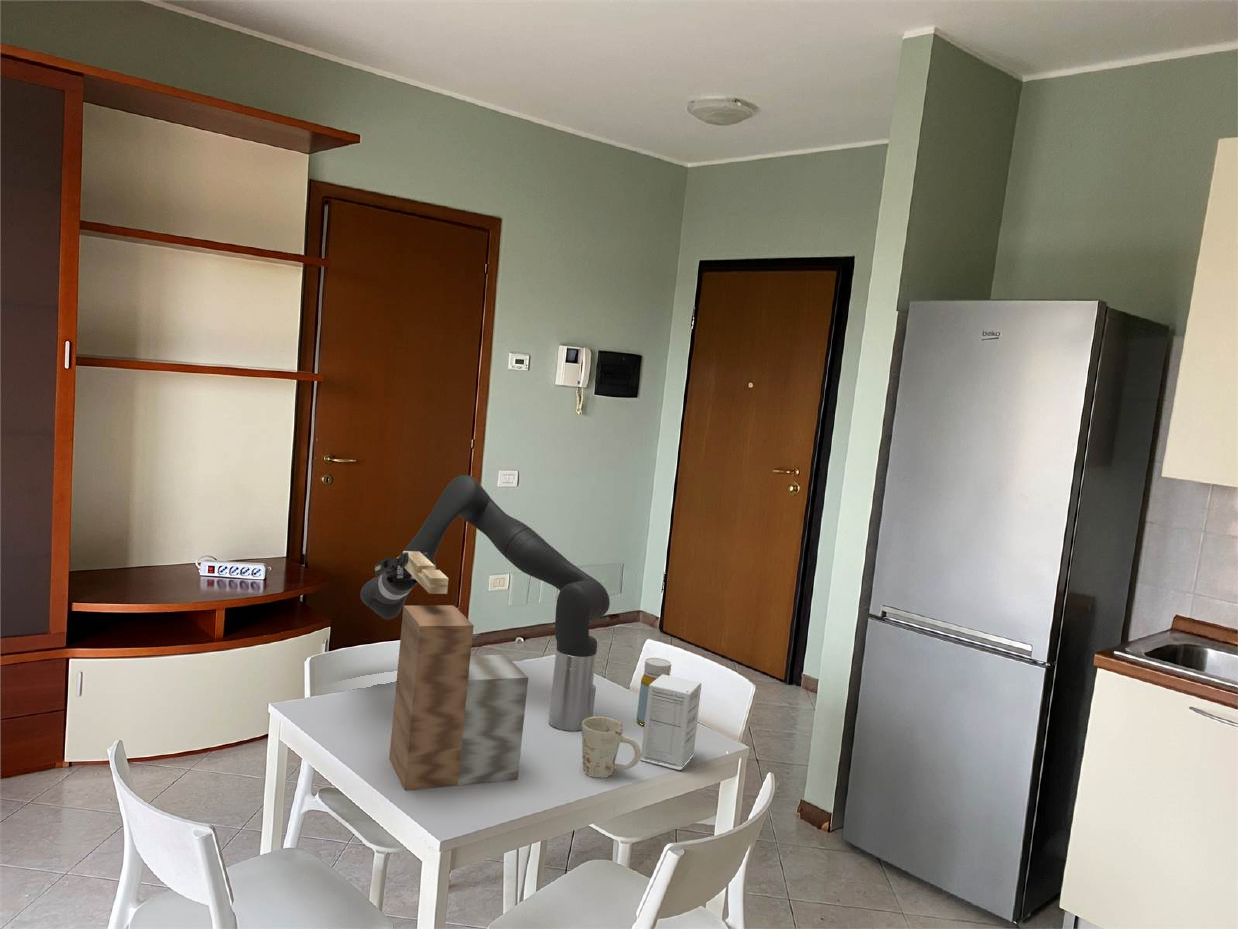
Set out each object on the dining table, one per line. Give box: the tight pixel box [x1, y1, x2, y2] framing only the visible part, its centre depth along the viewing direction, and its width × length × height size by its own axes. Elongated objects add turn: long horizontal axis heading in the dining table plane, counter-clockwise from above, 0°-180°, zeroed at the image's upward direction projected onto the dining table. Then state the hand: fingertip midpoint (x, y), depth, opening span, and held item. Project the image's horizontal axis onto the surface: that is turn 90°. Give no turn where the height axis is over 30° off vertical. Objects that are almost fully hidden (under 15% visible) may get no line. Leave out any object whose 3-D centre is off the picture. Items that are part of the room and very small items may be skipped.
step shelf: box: [388, 604, 529, 791], centre depth 176 cm, size 22×14×31 cm, turn 116°
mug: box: [581, 716, 642, 778], centre depth 183 cm, size 8×13×10 cm, turn 82°
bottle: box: [636, 657, 672, 725], centre depth 213 cm, size 7×7×15 cm
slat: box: [402, 550, 449, 595], centre depth 184 cm, size 4×24×3 cm, turn 26°
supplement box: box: [640, 674, 702, 767], centre depth 193 cm, size 10×9×17 cm
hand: (416, 556), depth 190 cm, fingers closed on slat, 3 cm apart
